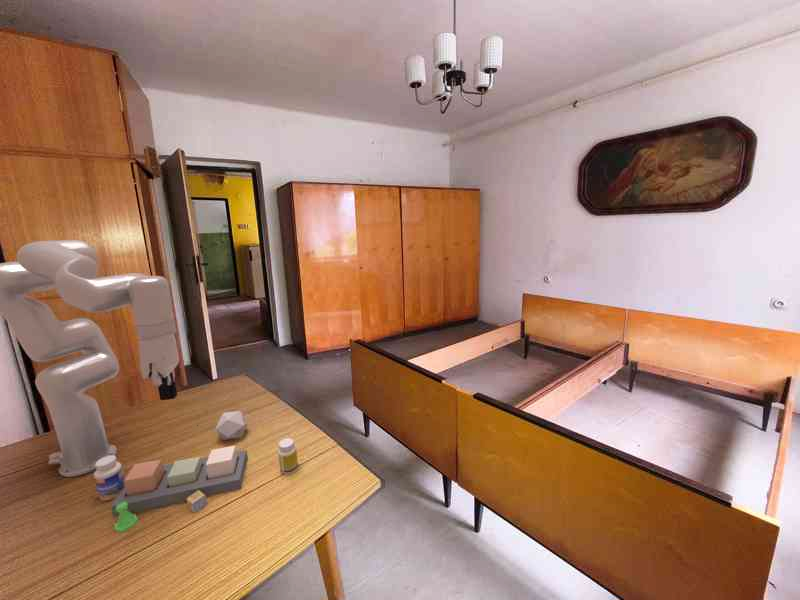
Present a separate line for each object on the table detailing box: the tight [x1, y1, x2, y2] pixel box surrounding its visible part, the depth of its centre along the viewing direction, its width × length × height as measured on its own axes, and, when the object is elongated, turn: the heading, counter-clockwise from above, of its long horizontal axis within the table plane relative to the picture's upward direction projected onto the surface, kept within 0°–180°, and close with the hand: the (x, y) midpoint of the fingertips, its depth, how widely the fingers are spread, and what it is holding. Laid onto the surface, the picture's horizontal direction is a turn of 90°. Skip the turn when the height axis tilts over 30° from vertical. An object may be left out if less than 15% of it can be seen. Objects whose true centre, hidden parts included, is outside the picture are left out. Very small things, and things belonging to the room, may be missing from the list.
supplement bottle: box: [278, 437, 299, 475], centre depth 92 cm, size 5×5×8 cm
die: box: [214, 410, 249, 441], centre depth 107 cm, size 8×9×10 cm
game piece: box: [114, 502, 139, 533], centre depth 76 cm, size 4×4×6 cm
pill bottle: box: [93, 455, 126, 501], centre depth 85 cm, size 5×5×10 cm
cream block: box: [206, 445, 238, 479], centre depth 89 cm, size 6×6×5 cm
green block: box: [167, 456, 202, 487], centre depth 87 cm, size 6×6×5 cm
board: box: [110, 449, 249, 518], centre depth 88 cm, size 28×12×3 cm, turn 106°
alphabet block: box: [186, 490, 208, 514], centre depth 81 cm, size 3×3×3 cm
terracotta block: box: [124, 459, 165, 496], centre depth 84 cm, size 6×6×5 cm
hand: (169, 397), depth 82 cm, fingers closed
